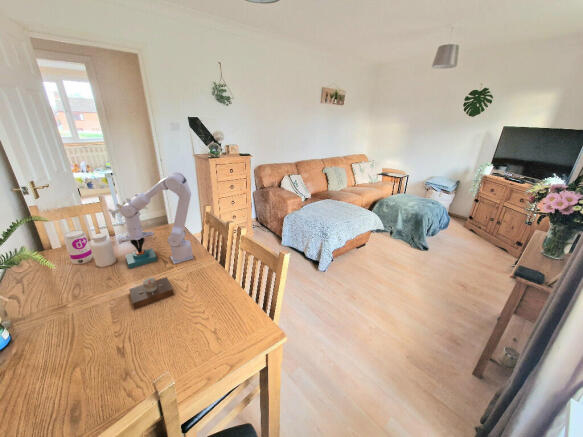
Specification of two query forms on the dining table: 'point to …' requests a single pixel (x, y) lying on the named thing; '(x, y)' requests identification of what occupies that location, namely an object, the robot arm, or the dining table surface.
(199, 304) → the dining table surface
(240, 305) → the dining table surface
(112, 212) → the flower vase
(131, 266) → the push button box
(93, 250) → the pill bottle
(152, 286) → the lock dial
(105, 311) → the dining table surface
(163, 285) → the lock panel
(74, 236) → the supplement can
